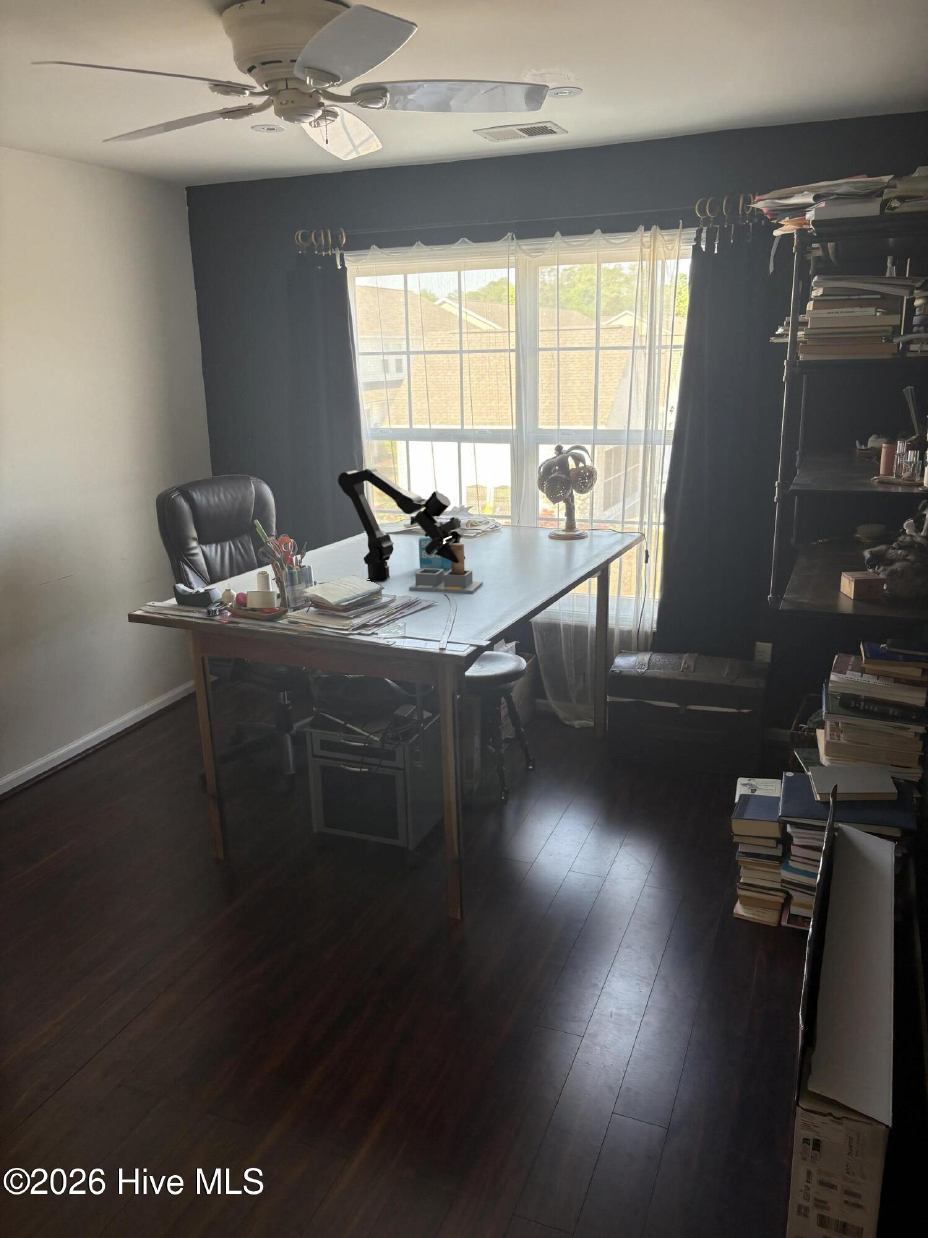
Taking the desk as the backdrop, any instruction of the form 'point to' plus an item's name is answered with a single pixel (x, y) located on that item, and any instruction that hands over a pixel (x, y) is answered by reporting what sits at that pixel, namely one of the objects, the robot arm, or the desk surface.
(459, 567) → the walnut peg
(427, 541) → the data package
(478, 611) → the desk surface
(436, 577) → the socket block
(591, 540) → the desk surface
